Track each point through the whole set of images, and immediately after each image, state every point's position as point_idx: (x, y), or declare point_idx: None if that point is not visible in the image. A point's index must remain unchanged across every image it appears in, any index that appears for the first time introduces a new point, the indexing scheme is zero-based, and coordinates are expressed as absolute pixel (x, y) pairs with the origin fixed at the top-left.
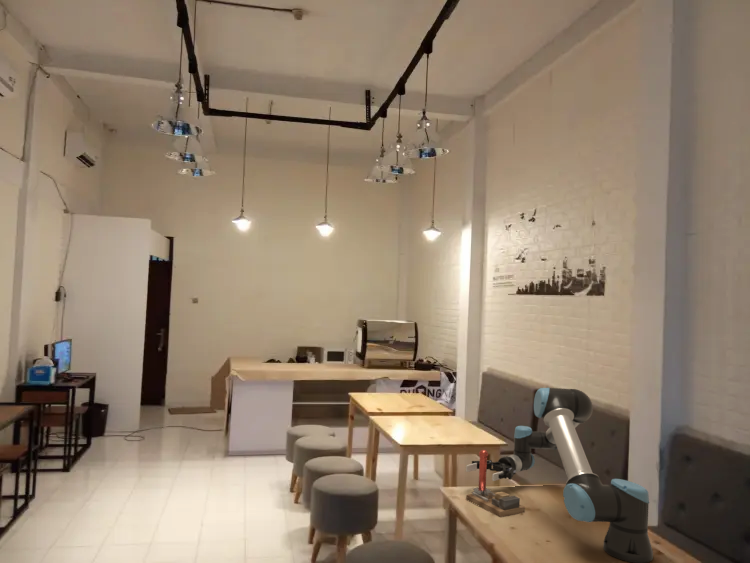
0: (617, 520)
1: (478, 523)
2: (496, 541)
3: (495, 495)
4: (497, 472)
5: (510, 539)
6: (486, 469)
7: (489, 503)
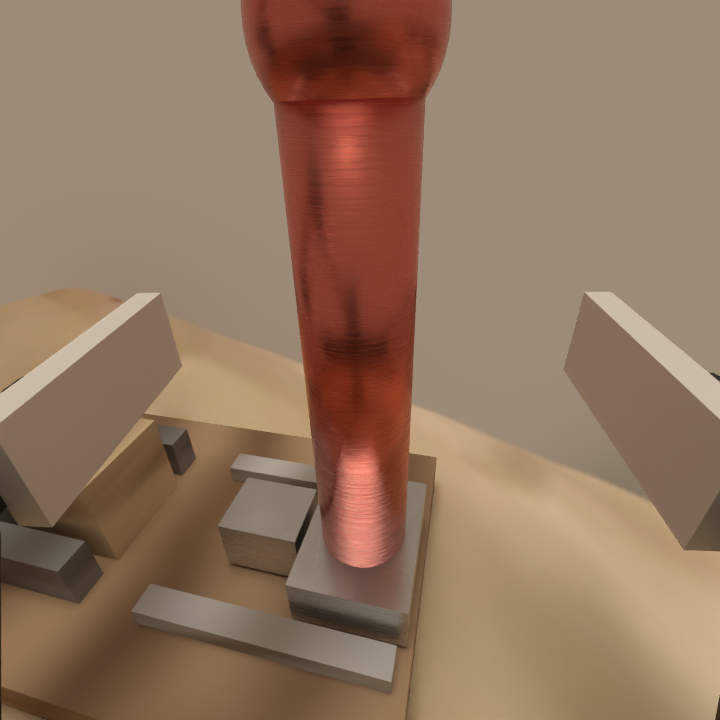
0: None
1: (206, 342)
2: (108, 308)
3: (154, 436)
4: (92, 348)
5: (56, 332)
6: (299, 329)
7: (212, 453)
